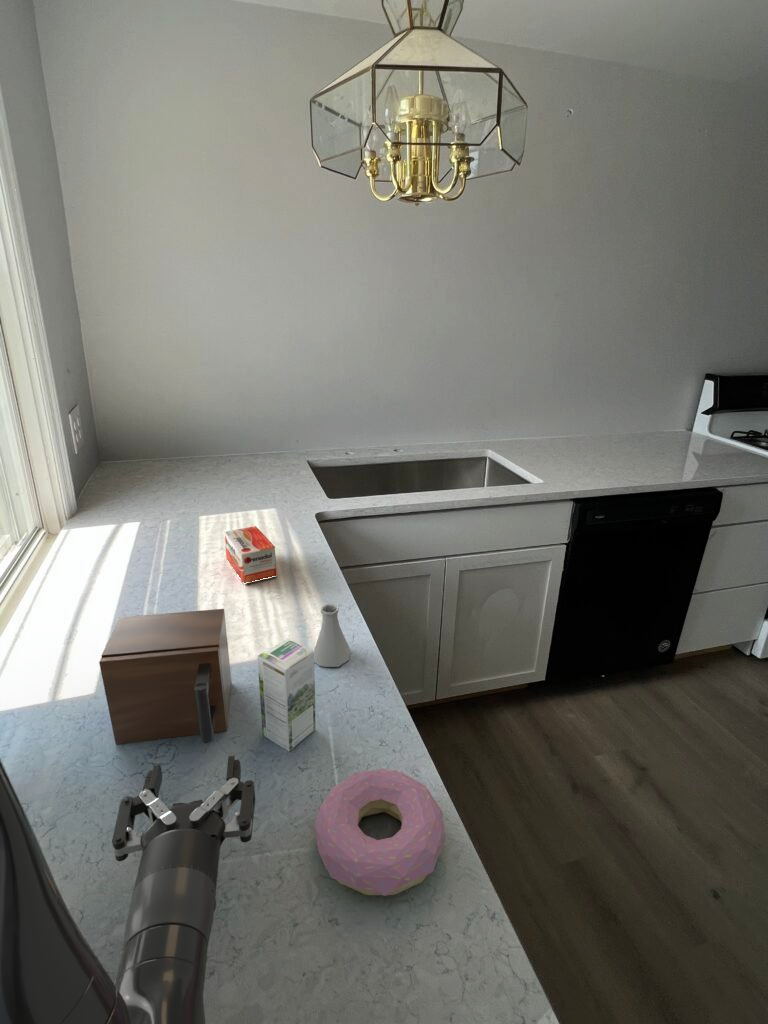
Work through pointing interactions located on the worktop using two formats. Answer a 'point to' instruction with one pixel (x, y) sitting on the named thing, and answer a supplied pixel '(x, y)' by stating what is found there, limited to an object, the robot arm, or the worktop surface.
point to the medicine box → (250, 554)
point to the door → (165, 695)
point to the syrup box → (287, 693)
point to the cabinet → (173, 637)
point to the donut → (383, 860)
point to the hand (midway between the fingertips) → (195, 765)
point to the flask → (331, 640)
